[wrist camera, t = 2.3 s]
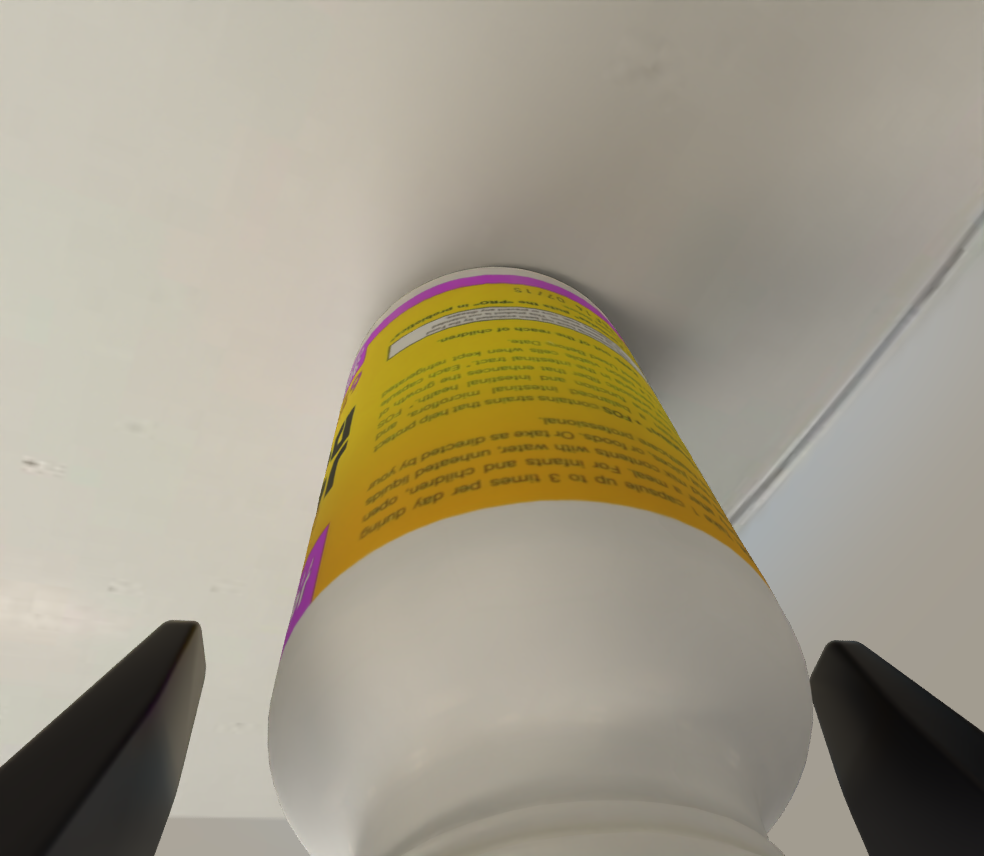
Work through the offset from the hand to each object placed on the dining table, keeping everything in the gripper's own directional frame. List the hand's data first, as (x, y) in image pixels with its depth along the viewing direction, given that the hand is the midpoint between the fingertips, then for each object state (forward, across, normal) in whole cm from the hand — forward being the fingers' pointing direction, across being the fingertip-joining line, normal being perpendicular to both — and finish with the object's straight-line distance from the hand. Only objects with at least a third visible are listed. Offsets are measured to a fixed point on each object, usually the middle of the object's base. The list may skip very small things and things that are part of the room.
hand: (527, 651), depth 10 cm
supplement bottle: (+8, 0, 0) cm, 8 cm away
